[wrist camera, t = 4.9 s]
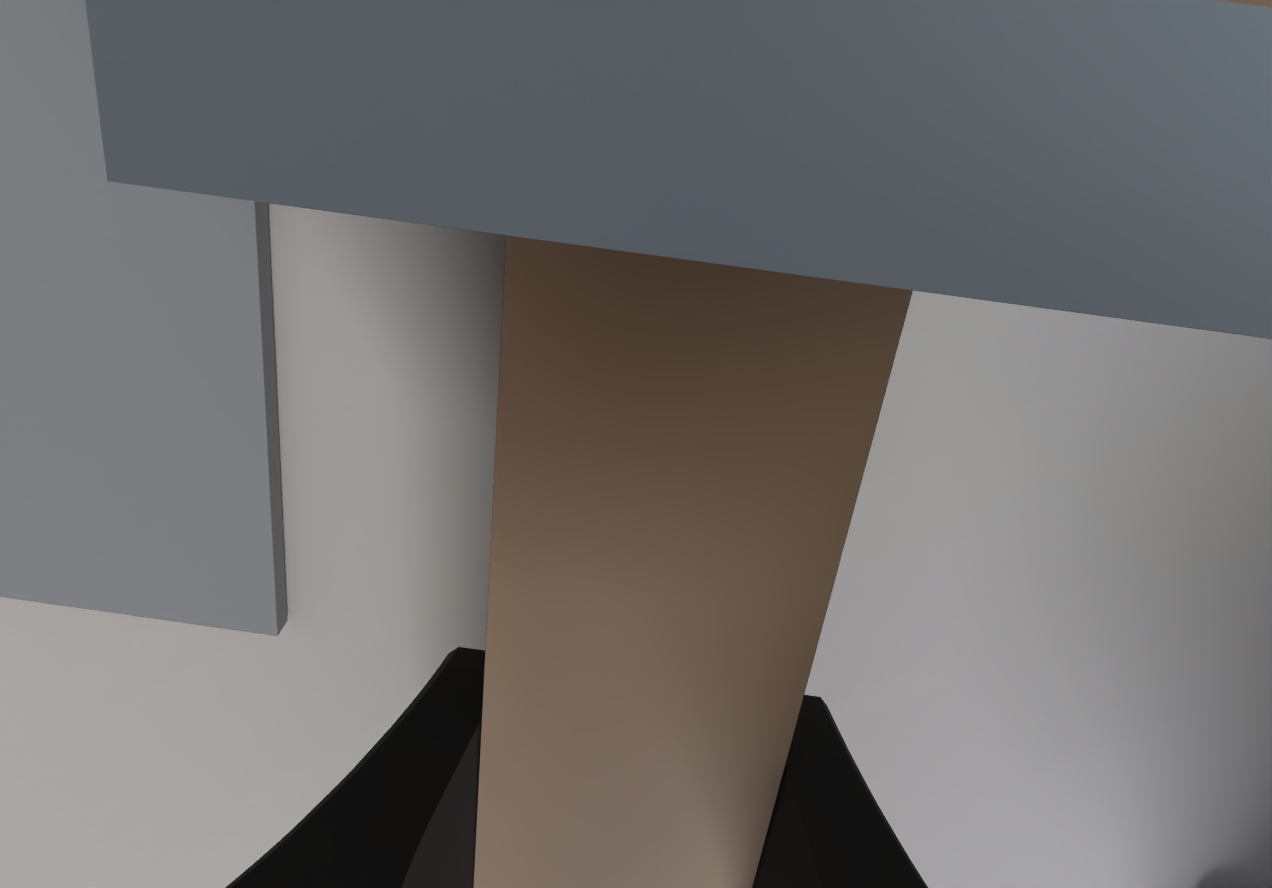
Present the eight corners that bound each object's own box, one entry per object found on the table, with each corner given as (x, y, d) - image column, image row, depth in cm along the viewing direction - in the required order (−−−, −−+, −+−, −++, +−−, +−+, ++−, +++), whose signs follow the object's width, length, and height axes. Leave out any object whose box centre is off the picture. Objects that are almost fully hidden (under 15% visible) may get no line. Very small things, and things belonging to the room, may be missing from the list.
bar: (857, 128, 11) (922, 251, 7) (679, 935, 18) (669, 1196, 14) (577, 91, 11) (507, 196, 7) (511, 912, 18) (459, 1165, 14)
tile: (1063, -24, 11) (1529, 19, 5) (1018, 133, 12) (1368, 350, 5) (432, -108, 11) (63, -175, 5) (429, 56, 12) (107, 180, 6)
